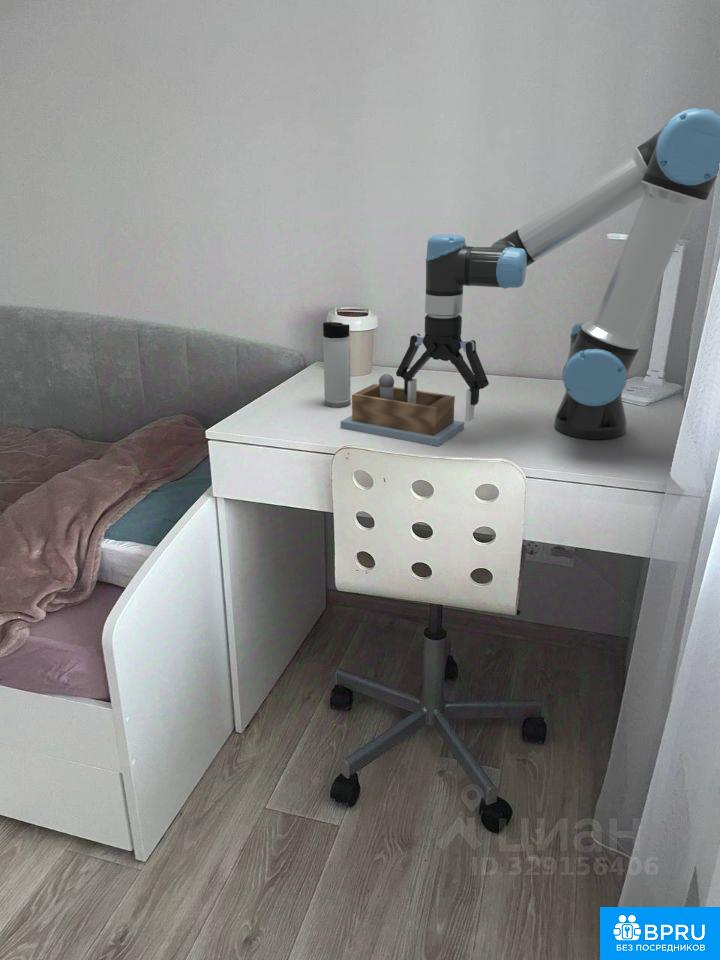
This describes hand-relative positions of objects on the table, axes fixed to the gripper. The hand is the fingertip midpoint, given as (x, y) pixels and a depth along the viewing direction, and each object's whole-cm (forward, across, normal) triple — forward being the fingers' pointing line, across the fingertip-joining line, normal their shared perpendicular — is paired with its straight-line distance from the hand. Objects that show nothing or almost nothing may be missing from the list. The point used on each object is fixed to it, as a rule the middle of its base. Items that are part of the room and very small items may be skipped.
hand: (440, 414), depth 170 cm
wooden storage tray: (+3, +9, 0) cm, 10 cm away
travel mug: (+5, +31, -8) cm, 32 cm away
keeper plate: (+5, +9, 0) cm, 10 cm away
